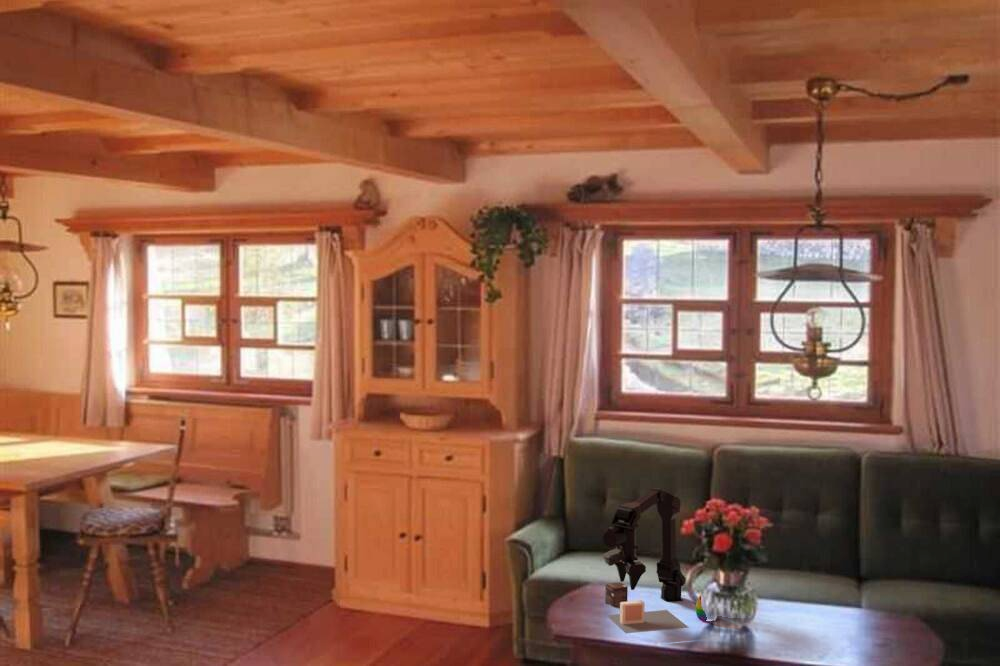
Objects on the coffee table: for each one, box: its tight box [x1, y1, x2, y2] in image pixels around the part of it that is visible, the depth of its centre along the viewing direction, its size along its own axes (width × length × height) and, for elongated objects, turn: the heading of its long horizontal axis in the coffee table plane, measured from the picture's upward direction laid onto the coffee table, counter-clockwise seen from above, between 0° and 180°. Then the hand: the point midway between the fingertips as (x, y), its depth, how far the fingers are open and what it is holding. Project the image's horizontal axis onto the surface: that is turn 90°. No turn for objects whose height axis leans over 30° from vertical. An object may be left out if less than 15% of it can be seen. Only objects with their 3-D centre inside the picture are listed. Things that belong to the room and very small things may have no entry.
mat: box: [606, 609, 689, 634], centre depth 335 cm, size 23×18×1 cm
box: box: [604, 581, 629, 608], centre depth 353 cm, size 6×6×7 cm
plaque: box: [619, 599, 645, 625], centre depth 333 cm, size 8×3×7 cm, turn 104°
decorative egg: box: [695, 594, 707, 622], centre depth 337 cm, size 8×8×10 cm
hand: (627, 585), depth 338 cm, fingers open, 9 cm apart
